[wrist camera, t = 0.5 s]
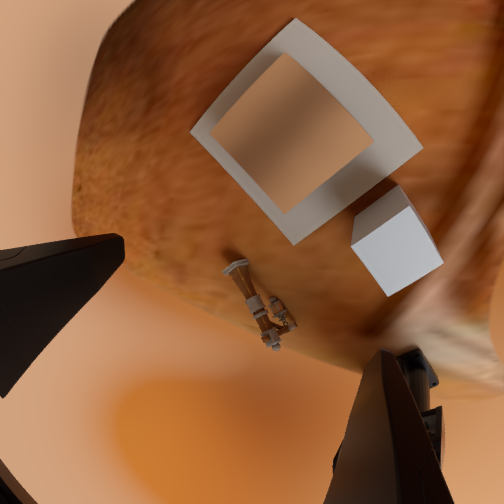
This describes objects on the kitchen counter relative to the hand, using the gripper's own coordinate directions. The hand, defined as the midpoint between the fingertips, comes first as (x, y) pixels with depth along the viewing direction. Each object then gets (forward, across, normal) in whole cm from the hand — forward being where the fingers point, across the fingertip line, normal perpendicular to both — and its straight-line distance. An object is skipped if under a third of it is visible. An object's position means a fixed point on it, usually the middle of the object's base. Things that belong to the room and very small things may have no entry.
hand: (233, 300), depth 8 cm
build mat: (+13, +2, -4) cm, 14 cm away
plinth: (+13, +2, -4) cm, 13 cm away
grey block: (+13, -6, 0) cm, 15 cm away
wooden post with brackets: (+14, +2, +10) cm, 17 cm away
